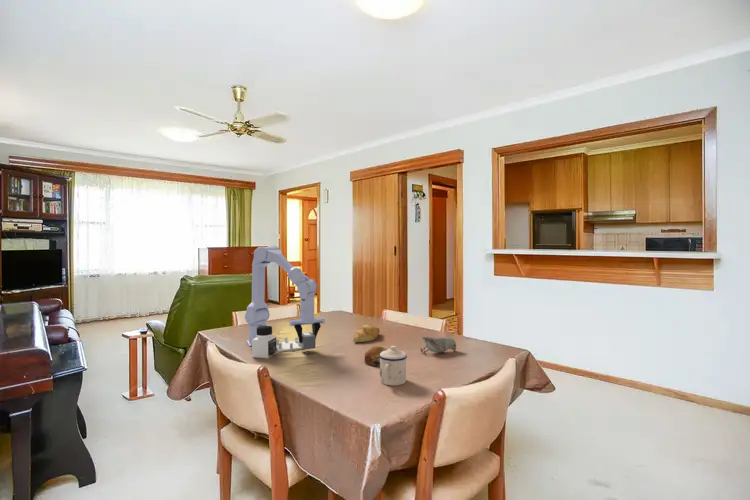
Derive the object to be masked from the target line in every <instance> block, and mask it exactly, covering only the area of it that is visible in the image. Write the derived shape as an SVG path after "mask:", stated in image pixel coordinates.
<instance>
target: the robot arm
mask: <svg viewBox="0 0 750 500" xmlns="http://www.w3.org/2000/svg"><path fill="white" fill-rule="evenodd" d="M270 263H275V264H276V265H278V266H279V267H280V268H281V269H282V270H284V272H286V273H287V278H288V279H289V280H290V281H291V282H292V283H293V284H294V285H295V286H296V289H297V292H298V294H299V298H300V299H299V301H300V308H299V309H300V311H299V312H300V314H299V315H300V317H299V319H294V320H289V321H288V323H289V324H288V325H289V326H290V327H293V328H294V329H295V331H296V334H297V338H298V341H299V342H300V343H302V333H303V327H302V326H304V325H305V326H306V325H311V328H312V329H311V331H312V332H311V333H312V334H314V335H315V336H316V337H318V333H319V331H320V329H321V326H322V325H321V324H326V320H325V319H326V318H324V317H317V318H315V293H316V291H317V290H318V284H317V282H316V281H315V279H313V278H309V276H307V275H305V273H303V270H302V269H301V268H298V267H294V266H293V265H292V264H291V263H290V261H289V260H288V259H287V258H286V257H285V256H284V255H283V253H282V250H281V249H280V248H279V247H278V246H276V245H273V246H258V247H257V248H255V250H253V259H252V263H251V265H252V266H251V303H249V304H248V305H247V307H246V312H245V314H244V319H245V322H246V323H247V325H248V339H247V340H246V343H247V344H248V347H252V340H253V339H255V338H257V327H258V326H260V325H267V322H268V320H269V319H270V311H269V305H268V304H267V303H266V301H265V298H266V297H265V294H266V293H265V291H266V290H265V289H266V267H267V266H268V265H269V264H270Z"/></svg>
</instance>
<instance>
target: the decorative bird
mask: <svg viewBox="0 0 750 500" xmlns="http://www.w3.org/2000/svg"><path fill="white" fill-rule="evenodd" d="M421 339H423V340H424V343H425V346H424V347H423V349H422V348H420V353H422V354H425V355H427V353H426V352H428V351H430V352H433V353H444V352H446V351H448V350H452V351H453V352H456V350H457V342H456V340H455V339H454V338H453V337H442V336H441V337H439V336H438V337H432V336H431V337H430V336H421ZM426 348H427V350H425V349H426Z"/></svg>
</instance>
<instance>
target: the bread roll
mask: <svg viewBox="0 0 750 500" xmlns="http://www.w3.org/2000/svg"><path fill="white" fill-rule="evenodd" d="M386 350H388V349H387V348H386V347H384V346H382V345H371V347H369V349H368V350H366V351H365V353H364V363H365V364H367V366H368V365H369V366H371V367H373V366H375V367H380V357H379V355H380V353H381V352H383V351H386Z"/></svg>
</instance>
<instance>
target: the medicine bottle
mask: <svg viewBox="0 0 750 500" xmlns="http://www.w3.org/2000/svg"><path fill="white" fill-rule="evenodd" d="M276 340H277V336H275V335H273V326H271V325H270V324H266V325H260V326H258V327H257V338H255V339H253V340H252V346H251V349H252V350H251V351H252V352H251V357H252V358H257V359H270V358H271V357H273V356H274V355H276V354H277V349H276Z"/></svg>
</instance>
